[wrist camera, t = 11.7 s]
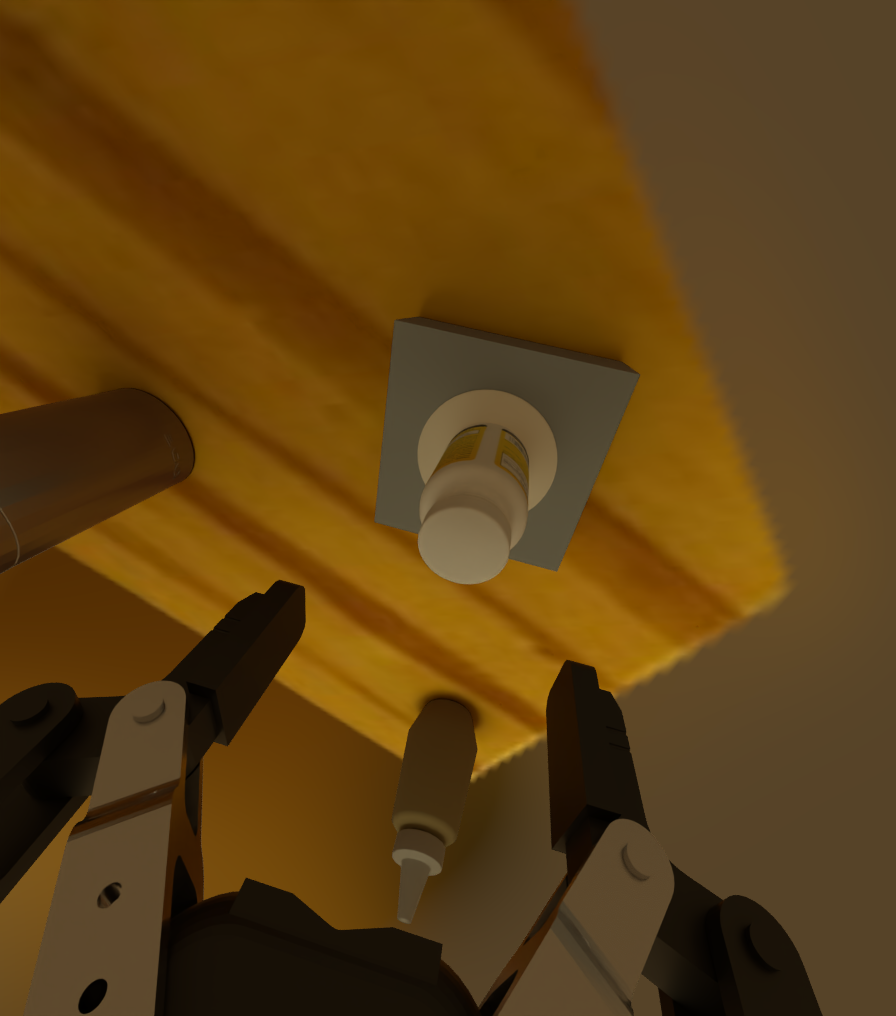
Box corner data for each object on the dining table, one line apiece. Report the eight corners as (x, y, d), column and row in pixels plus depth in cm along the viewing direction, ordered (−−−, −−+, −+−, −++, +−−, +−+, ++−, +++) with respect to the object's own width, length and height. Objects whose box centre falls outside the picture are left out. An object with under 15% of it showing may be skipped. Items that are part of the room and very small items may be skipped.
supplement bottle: (438, 487, 26) (392, 576, 18) (455, 410, 23) (411, 473, 15) (515, 509, 26) (505, 611, 17) (541, 434, 23) (545, 511, 15)
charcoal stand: (395, 493, 33) (373, 523, 29) (418, 316, 26) (393, 320, 22) (554, 535, 32) (557, 573, 28) (622, 362, 25) (641, 375, 21)
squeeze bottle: (450, 741, 49) (411, 945, 34) (403, 706, 48) (339, 902, 32) (495, 720, 45) (474, 939, 30) (445, 681, 44) (395, 890, 28)
